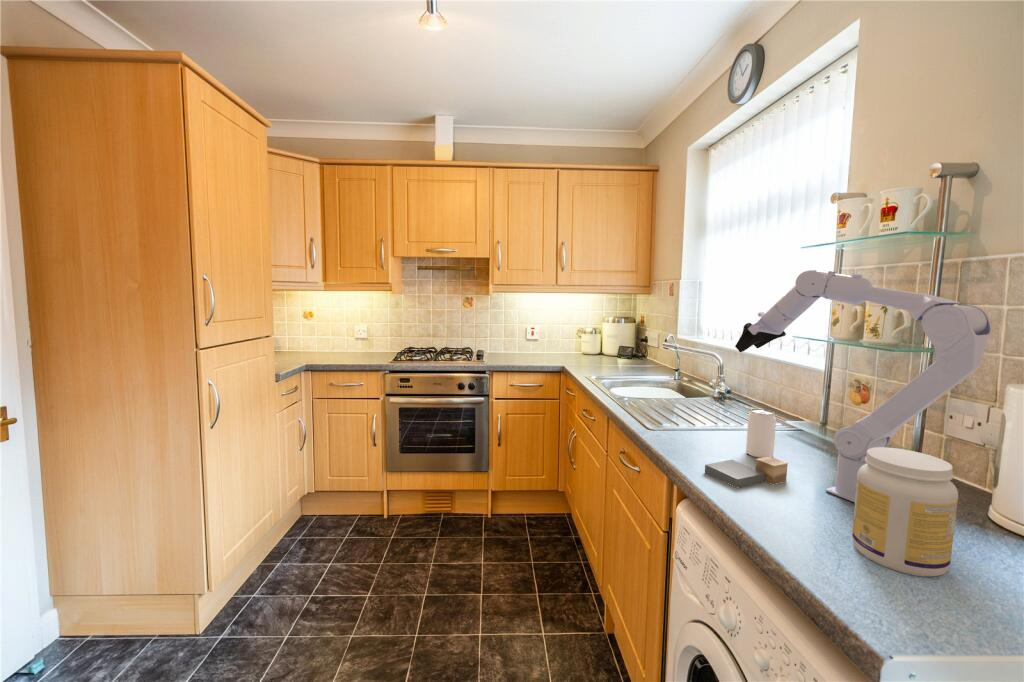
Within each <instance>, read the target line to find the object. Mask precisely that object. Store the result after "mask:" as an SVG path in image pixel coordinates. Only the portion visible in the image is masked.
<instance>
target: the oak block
mask: <svg viewBox="0 0 1024 682" xmlns="http://www.w3.org/2000/svg"><path fill="white" fill-rule="evenodd" d="M755 469H756V470H759V471H761V472H764V473H766V475H765V481H766V482H765V483H768V484H770V483H771V485H772V484H774V485H776V483H778V484H781V482H782V483H786V482H787V476H788V474H787V473H788V462H786V461H782V460H780V459H777V458H774V457H770V456H769V457H764V458H755ZM785 481H786V482H785Z"/></svg>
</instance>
